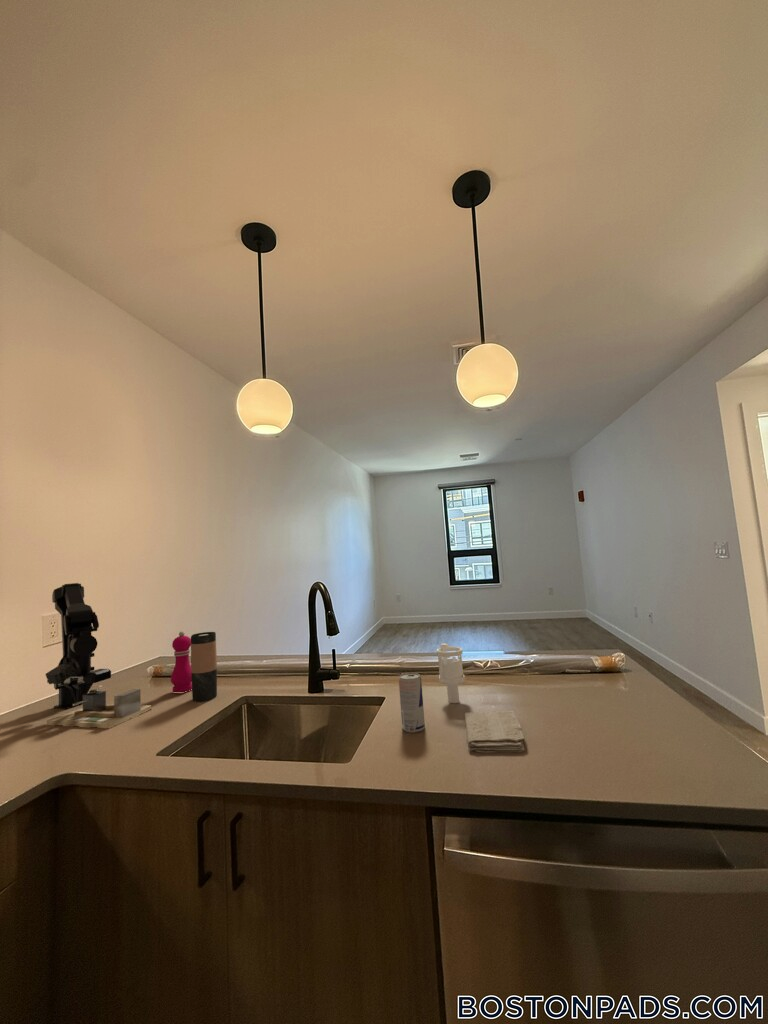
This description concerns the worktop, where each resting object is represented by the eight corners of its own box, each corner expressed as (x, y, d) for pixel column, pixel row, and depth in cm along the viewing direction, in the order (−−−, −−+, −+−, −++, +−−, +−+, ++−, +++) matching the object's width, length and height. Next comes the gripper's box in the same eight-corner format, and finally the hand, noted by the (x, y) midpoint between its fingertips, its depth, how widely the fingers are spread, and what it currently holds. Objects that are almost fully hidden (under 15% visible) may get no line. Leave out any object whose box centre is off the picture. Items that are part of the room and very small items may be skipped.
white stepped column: (456, 695, 120) (452, 641, 121) (472, 702, 113) (466, 645, 115) (435, 700, 117) (431, 645, 118) (450, 707, 110) (445, 649, 112)
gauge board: (46, 725, 120) (47, 698, 120) (93, 707, 133) (93, 683, 134) (109, 728, 113) (109, 700, 114) (151, 709, 126) (151, 684, 127)
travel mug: (223, 694, 136) (221, 631, 138) (203, 703, 129) (202, 636, 131) (205, 693, 139) (204, 631, 141) (186, 701, 132) (184, 636, 134)
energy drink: (427, 724, 101) (423, 672, 102) (421, 734, 96) (417, 679, 97) (405, 723, 102) (402, 672, 104) (399, 732, 97) (395, 678, 99)
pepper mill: (185, 694, 140) (183, 632, 142) (166, 694, 141) (165, 633, 143) (198, 687, 147) (197, 629, 149) (180, 687, 148) (179, 629, 150)
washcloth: (468, 756, 85) (467, 739, 85) (463, 721, 102) (462, 707, 103) (529, 755, 83) (527, 738, 84) (513, 720, 101) (512, 706, 101)
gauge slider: (68, 719, 118) (68, 697, 119) (95, 708, 126) (95, 688, 127) (78, 719, 117) (78, 697, 118) (105, 709, 125) (105, 688, 126)
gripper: (28, 658, 122) (27, 714, 121) (76, 658, 117) (75, 716, 115) (66, 649, 133) (66, 701, 131) (112, 649, 128) (112, 702, 126)
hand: (79, 705), depth 126 cm, fingers closed
